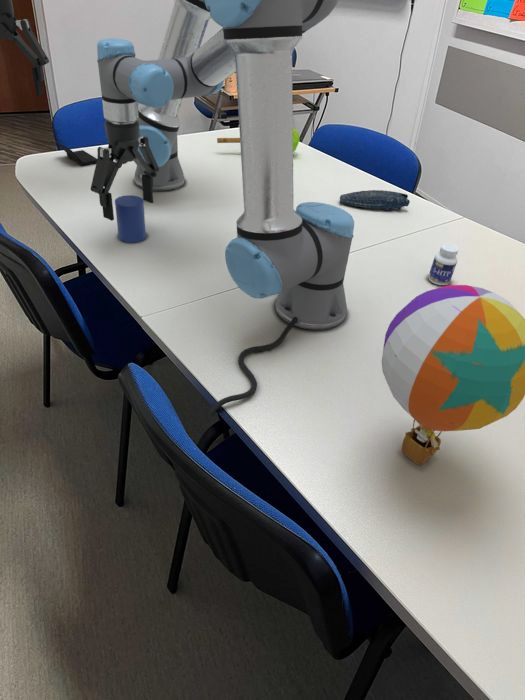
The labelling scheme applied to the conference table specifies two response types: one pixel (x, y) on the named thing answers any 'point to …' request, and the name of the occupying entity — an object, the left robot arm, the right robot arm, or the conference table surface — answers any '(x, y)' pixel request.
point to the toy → (454, 363)
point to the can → (130, 218)
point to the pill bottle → (443, 265)
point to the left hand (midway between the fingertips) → (13, 92)
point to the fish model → (376, 199)
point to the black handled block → (79, 155)
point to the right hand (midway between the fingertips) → (129, 209)
